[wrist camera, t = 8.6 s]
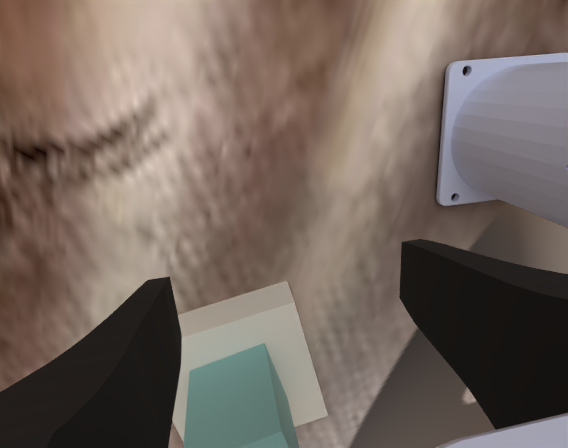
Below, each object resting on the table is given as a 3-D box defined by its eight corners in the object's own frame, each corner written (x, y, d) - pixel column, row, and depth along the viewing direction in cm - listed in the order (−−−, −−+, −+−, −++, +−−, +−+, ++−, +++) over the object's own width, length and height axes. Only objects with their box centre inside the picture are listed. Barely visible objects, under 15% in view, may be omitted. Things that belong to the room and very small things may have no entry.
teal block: (264, 342, 22) (281, 431, 16) (287, 398, 23) (310, 495, 18) (189, 371, 22) (181, 470, 16) (218, 424, 23) (219, 531, 18)
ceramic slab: (285, 276, 24) (294, 302, 21) (316, 381, 27) (328, 415, 25) (146, 320, 23) (136, 352, 21) (195, 421, 27) (193, 461, 24)
